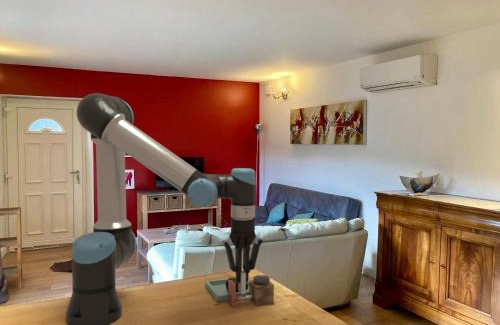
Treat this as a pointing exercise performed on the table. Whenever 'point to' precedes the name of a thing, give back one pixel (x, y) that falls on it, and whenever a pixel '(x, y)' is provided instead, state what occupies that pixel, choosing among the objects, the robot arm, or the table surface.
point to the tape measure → (235, 283)
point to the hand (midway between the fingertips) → (241, 292)
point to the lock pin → (232, 294)
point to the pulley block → (261, 290)
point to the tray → (221, 290)
